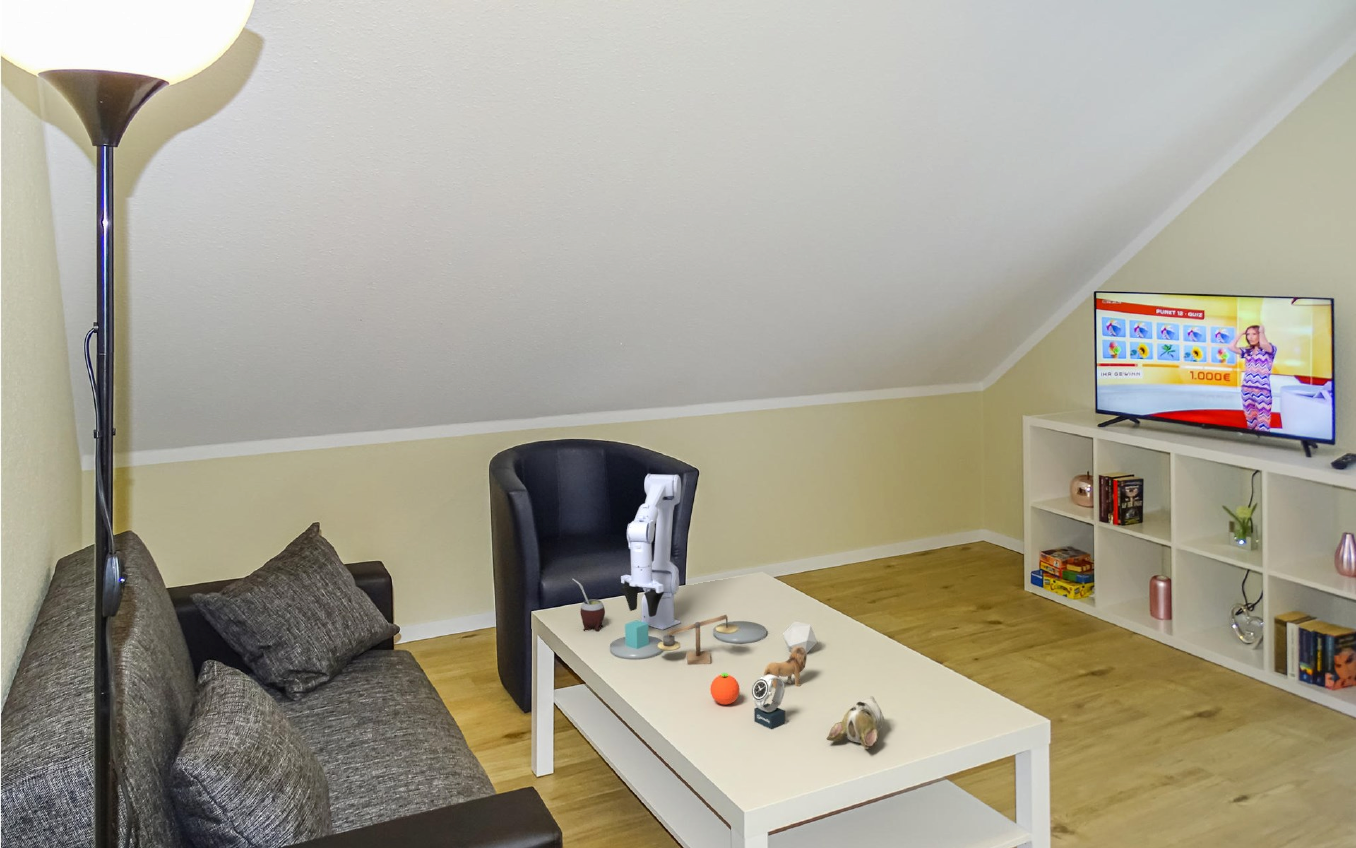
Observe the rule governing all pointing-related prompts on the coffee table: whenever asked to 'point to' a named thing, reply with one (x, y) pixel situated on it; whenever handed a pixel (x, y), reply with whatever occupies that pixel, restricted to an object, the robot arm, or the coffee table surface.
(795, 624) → the die
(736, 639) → the grey round disc
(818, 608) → the coffee table surface
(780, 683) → the watch
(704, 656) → the balance
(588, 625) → the mate gourd
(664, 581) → the robot arm
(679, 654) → the coffee table surface
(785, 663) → the lion figurine
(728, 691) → the clementine
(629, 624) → the block
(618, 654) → the dish low side
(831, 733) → the ceramic sculpture
